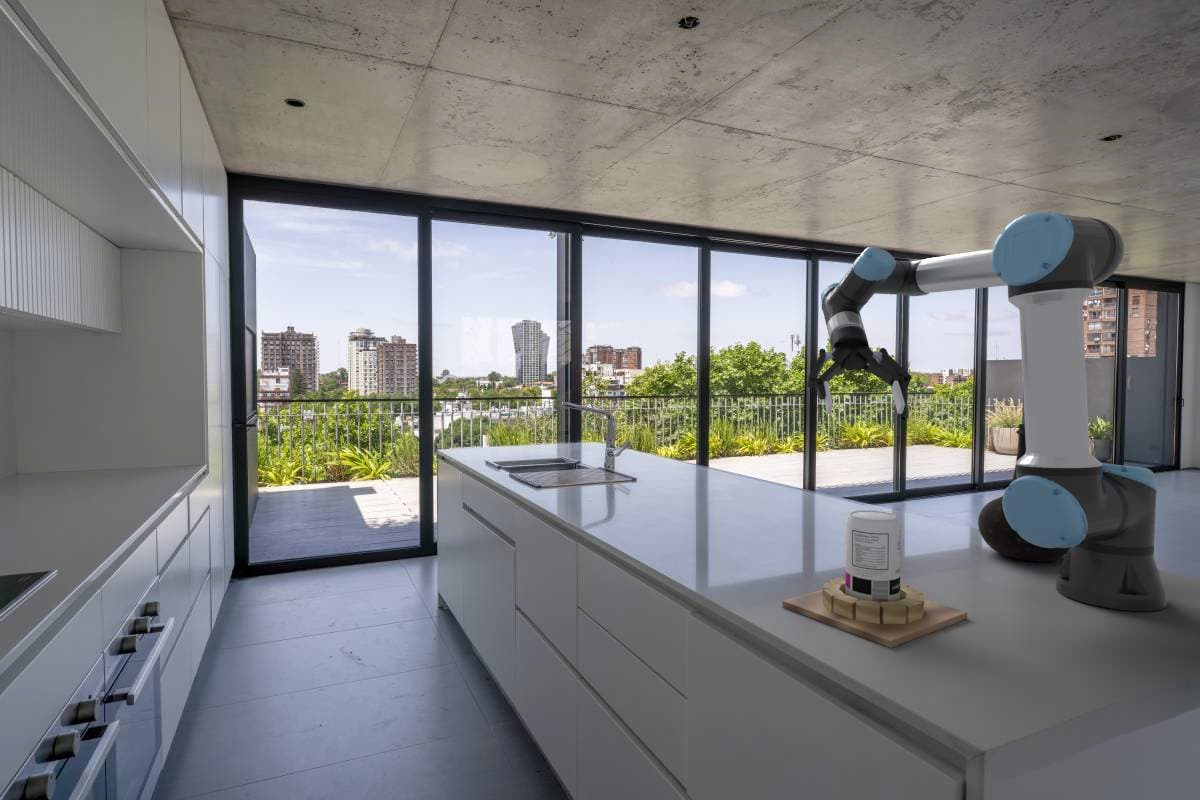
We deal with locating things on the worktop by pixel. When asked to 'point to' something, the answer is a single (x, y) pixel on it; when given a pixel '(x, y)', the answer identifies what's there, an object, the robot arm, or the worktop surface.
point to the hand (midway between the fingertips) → (865, 409)
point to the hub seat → (876, 613)
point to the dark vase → (1001, 532)
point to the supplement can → (873, 556)
